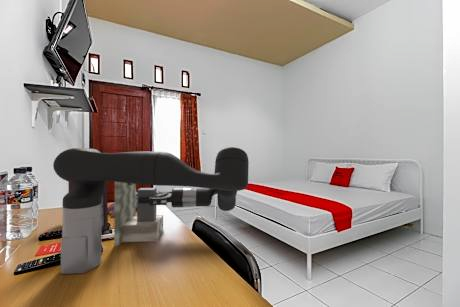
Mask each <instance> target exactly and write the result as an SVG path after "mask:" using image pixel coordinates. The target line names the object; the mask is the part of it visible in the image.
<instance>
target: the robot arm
mask: <svg viewBox="0 0 460 307" xmlns="http://www.w3.org/2000/svg"><path fill="white" fill-rule="evenodd" d="M214 162H215V163H214V164H215V165H214V171H213V172H214V173H206V172H203V171H200V170H197V169H195V168H194V167H191V166H190V165H189V164H188V163H185V162H184V161H183V160H182V159H180V158H179V157H177V156H176V155H174V154H173V153H170V152H167V151H148V150H146V151H144V150H143V151H126V152H125V151H124V152H112V153H109V152H101V151H100V150H98V149H95V148H89V147H87V148H86V147H85V148H84V147H81V148H79V147H77V148H76V147H74V148H69V149H65V150H64V151H62V152H60V153H59V154H57V156H56V158H54V161H53V164H52V165H53V170H54V172H55V174H56V175H57V176H58V177H59V178H61V179H62V180H63V181H67V182H68V181H69V182H74V185H73V187H72V189H71V190H70V192H68V193H67V192H66V194H65V195H64V196H63V198H62V230H61V231H62V233H61V234H62V235H61V239H60V275H70V274H85V273H87V272H88V271H90V270H92V269H95V268H97V267H98V266H99V265H100V264H101V263H102V232H101V213H102V196H103V194H104V191H105V181H107V182H114V183H115V182H123V183H132V184H136V185H144V186H159V187H160V186H165V187H167V186H170V187H173V188H172V190H170V191H157V194H156V195H155V196H154V197H140V198H139V199H138V203H139V204H145V203H149V204H150V205H151V206H152V205H156V206H167V205H168V204H169V203H171V208H173V209H175V208H195V207H198V208H199V207H209V206H211V204H212V200H213V197H214V196H215V195H217V208H218V209H220V210H221V211H222V212H229V211H231V210H232V211H233V209H234V208H235V207H236V205H237V202H236V201H237V199H236V198H237V195H238V191H243V190H245V189H247V188H248V186H249V156H248V154H247V152H246V151H245V150H243V149H242V148H239V147H233V146H229V147H223V148H222V149H221V150H219V151H218V152H217V154H216V157H215V161H214ZM153 200H155V201H154V202H153Z"/></svg>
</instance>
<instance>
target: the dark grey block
mask: <svg viewBox="0 0 460 307" xmlns="http://www.w3.org/2000/svg"><path fill="white" fill-rule="evenodd" d="M157 192H158V191H157V187H140V188H138V189H136V193H137V209H136V211H137V212H136V214H137V215H136V216H137V222H153V221H154V220H155V219H156V215H157V205H152V206H151V205H150V204H149V203H145V204H139V203H138V199H139V198H140V197H154V196H155V195H156V194H157ZM154 201H155V200H153V202H154Z"/></svg>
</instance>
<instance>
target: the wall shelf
mask: <svg viewBox="0 0 460 307" xmlns="http://www.w3.org/2000/svg"><path fill="white" fill-rule="evenodd" d="M136 193H137V184H132V183H123V182H115V181H114V203H115V216H114V223H113V224H114V235H113V238H114V239H113V240H114V241H113V242H114V243H113V244H114V245H113V246H114V247H115V246H116V247H117V246H120V245H121V244H122V243H136V242H137V243H139V242H158V239H159V237H160V235H161V234H162V232H163V231H164V215H163V214H158V215H157V214H156V219H155V220H154V221H153V222H137V215H136V214H137V212H136V211H137V209H136Z"/></svg>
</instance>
